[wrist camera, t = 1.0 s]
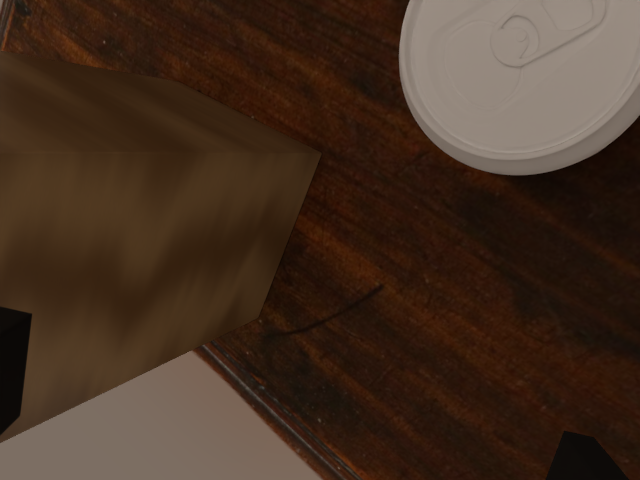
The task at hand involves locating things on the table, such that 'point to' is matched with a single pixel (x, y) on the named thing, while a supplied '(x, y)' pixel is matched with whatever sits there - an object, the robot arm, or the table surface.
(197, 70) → the table surface
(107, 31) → the table surface
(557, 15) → the beverage can
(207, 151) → the plinth
